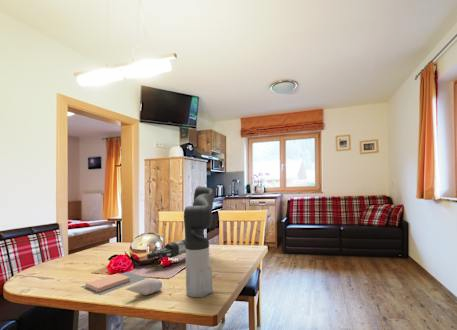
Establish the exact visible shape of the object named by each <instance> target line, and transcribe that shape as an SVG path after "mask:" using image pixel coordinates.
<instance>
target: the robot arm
mask: <svg viewBox="0 0 457 330" xmlns="http://www.w3.org/2000/svg"><path fill="white" fill-rule="evenodd" d="M214 200H215V190H214V188H211V187H208V186H207V187H206V186H201V185H199V186H196V188H195V190H194V195H193V201H192V205H188V206H186V207H185V208H184V211H183V222H184V223H183V225H184V239H182V240H176V241H172V242H169V243H166V244H165V245H164V247H160V248H159V249H157V248H154V249H153V250H152V251H151V253H147V254H146V259H147V260H153V259H157V258H158V259H162V258H163V259H164V258H167V257H169V258H168V259H172V258H176V257H178V256H181V255H182V254H185V287H186V289H185V292H186V295H187V296H188V297H191V298H204V297H206V296H207V295H209V294H211V293H213V271H212V270H213V267H211V265H210V241H209V239H208V238H207V237H205V230H207V229H209V228H210V227H211V225H212V222H213V212H212V211H213V206H214Z"/></svg>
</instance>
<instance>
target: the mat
mask: <svg viewBox="0 0 457 330" xmlns="http://www.w3.org/2000/svg"><path fill="white" fill-rule="evenodd" d="M120 274H121V275H124V276H128V277H130V281H129V282H126V283H123V284H121V285H118V286H115V287H112V288H109V289H106V290H104V291H101V292H96V291H94V290H92V289H89V288H87V287H86V284H85V285H82V286H80V288H83V289H84V290H87V291H90V292H91V293H93V294H96V295H98V296H102V295H104V294H108V293H111V292H114V291H116V290H119V289H122V288H125V287H127V286H131V285H134V284H136V283H138V282H140V281H142V280H144V279H146V278H148V277H147V276H144V275H140V274H138V273H137V274H136V273H133V272H130V271H125V272H123V273H120Z"/></svg>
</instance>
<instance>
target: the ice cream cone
mask: <svg viewBox="0 0 457 330" xmlns="http://www.w3.org/2000/svg"><path fill="white" fill-rule="evenodd" d="M162 288H163V282H162V281H161V279H158V278H157V279H156V278H155V279H154V278H152V277H151V278H149V277H147V278H146V279H144V280H141V281H138V282H135V283H133V284H131V285H129V287H126V288H125V289H124V290H125V291H129V292H133V293H136V294H140V295H143V296H148V295H151V294H154V293H158V292H160V290H162Z"/></svg>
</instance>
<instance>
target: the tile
mask: <svg viewBox="0 0 457 330" xmlns="http://www.w3.org/2000/svg"><path fill="white" fill-rule="evenodd" d="M121 274H122V273H118V272H117V273H115V274H111V275H108V276H105V277H101V278H98V279H95V280H90V281H88V282H86V283H85V285H86V287H87V288H89V289H92V290H94V291H96V292H101V291H104V290H106V289H109V288H112V287H115V286H118V285H121V284H123V283H126V282H129V281H130V277H128V276H124V275H121Z"/></svg>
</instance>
